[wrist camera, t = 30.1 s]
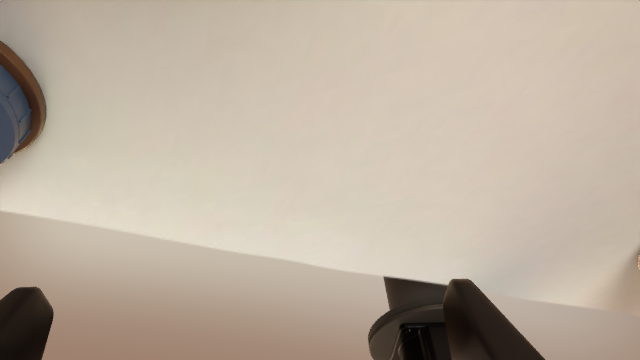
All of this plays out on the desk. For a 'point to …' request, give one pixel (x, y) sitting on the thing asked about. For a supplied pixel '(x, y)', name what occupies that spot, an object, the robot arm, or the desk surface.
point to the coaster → (25, 92)
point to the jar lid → (12, 115)
